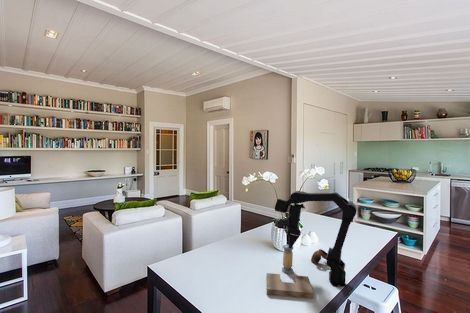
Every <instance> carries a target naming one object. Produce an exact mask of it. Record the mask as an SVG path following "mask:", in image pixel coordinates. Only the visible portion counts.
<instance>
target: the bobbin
mask: <svg viewBox="0 0 470 313" xmlns="http://www.w3.org/2000/svg"><path fill="white" fill-rule="evenodd" d="M282 249H283V252H282V253H283V254H282V255H283V256H282V268H281V271H282V272H283V274H293V272H294V269H293V253H294V252H293V250H294V245H293V246H292V248H289V245H287V244H283V245H282Z"/></svg>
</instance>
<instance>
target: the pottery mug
mask: <svg viewBox="0 0 470 313" xmlns="http://www.w3.org/2000/svg"><path fill="white" fill-rule="evenodd" d="M327 254H328V252H326V251H325V250H323V249H321V248H319V249H318V250H315V251H314V252H313V254H312V256H311V257H310V258H311V259H310V261H311V263H312V264H314V263H315V264H316V265H318V264H319V263H320V261H321V259H322V258H323V259H324V260H325V261H327V259H326V257H327ZM326 266H328V264H327V263H326Z"/></svg>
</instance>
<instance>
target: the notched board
mask: <svg viewBox="0 0 470 313" xmlns="http://www.w3.org/2000/svg"><path fill="white" fill-rule="evenodd" d="M293 278H294V279H293V280H294V282H289V281H287V282H285V281H281V274H279V273H268V272H266V279H265V280H266V282H265V283H266V295H268V296H276V297H277V296H278V297H288V298H289V297H290V298H300V299H301V298H302V299H311V300H314V298H315V293H314V290H313V287H312V283H311V281H310V278H309V276H306V275H295V274H294V277H293Z"/></svg>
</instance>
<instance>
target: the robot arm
mask: <svg viewBox="0 0 470 313" xmlns="http://www.w3.org/2000/svg"><path fill="white" fill-rule="evenodd" d="M307 202H333V203H334V204H335V205H337V207H338V208H339V209H340V210H341V211H342V212H341V213H342V214H341V223H340V226H339V230H338V233H337V236H336V239H335V242H334V245H333V247H329V249H328V250H327V257H326V259H327V260H326V259H325V260H326V265H327V264H328V265H327V266H328V267H329V268H330V271H329V270H328V280H329V282H330V285H331V286H333V287H347V283H346V274H347V273H346V271H345V267H346V263H345V262H344V261H343V260H342V252H343V247H344V243H345V240H346V237H347V234H348V231H349V227H350V225H351V223H352V222H353V220H354V218H355V217H356V215H357V210H358V207H357V206H356V204H355V203H353V202H350V201H348V200H347V199H346V198H345V197H343V196H342V195H340V194H339V193H338V192H335V191H334V192H306V191H303V190H302V191H301V190H296V191H294V192H292V193H291V194H290V195H289V199H287V200H285V199H282V198H277V200H276V203H275V205H274V211H275V212H278V213H282V214H287V213H288V215H287V217H286V218H279V219H276V220H275V221H276V222H275V223H276V227H277V228H281V227H283V230H284V233H285V234H286V237H285V238H286V245H289V248H292V246H293V247H294V244H295V243H296V242H297V240H298V239H299V238H300V236H301V235H302V231H301V230H300V228H299V224H300V222H301V219H300V217H301V213H302V209H303V210H304V209H306V206H305V205H304V203H307Z"/></svg>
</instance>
